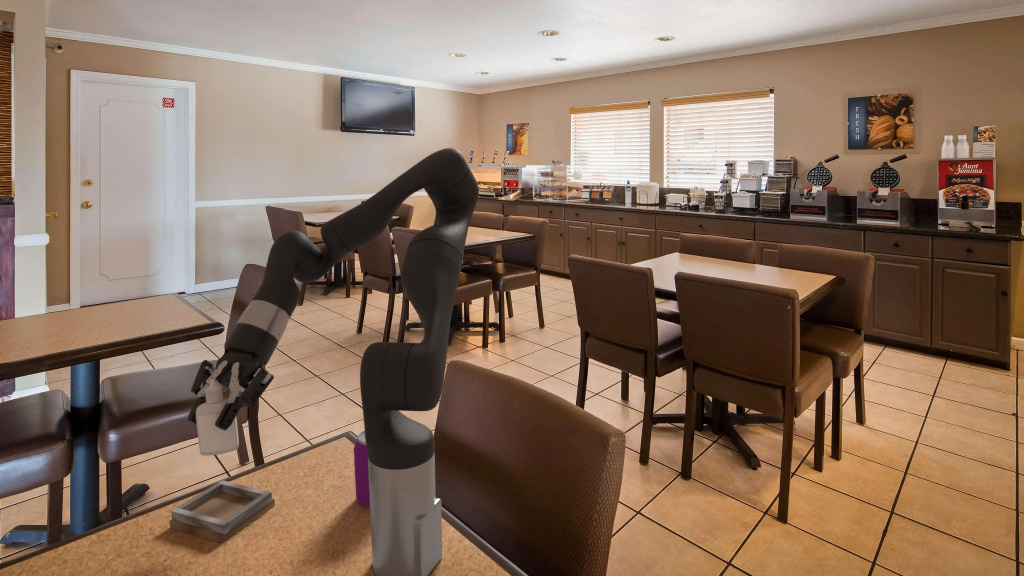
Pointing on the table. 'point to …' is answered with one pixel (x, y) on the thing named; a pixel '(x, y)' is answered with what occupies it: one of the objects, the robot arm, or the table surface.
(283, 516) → the table surface
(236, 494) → the grey square tray
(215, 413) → the eye dropper bottle
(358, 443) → the beverage can
